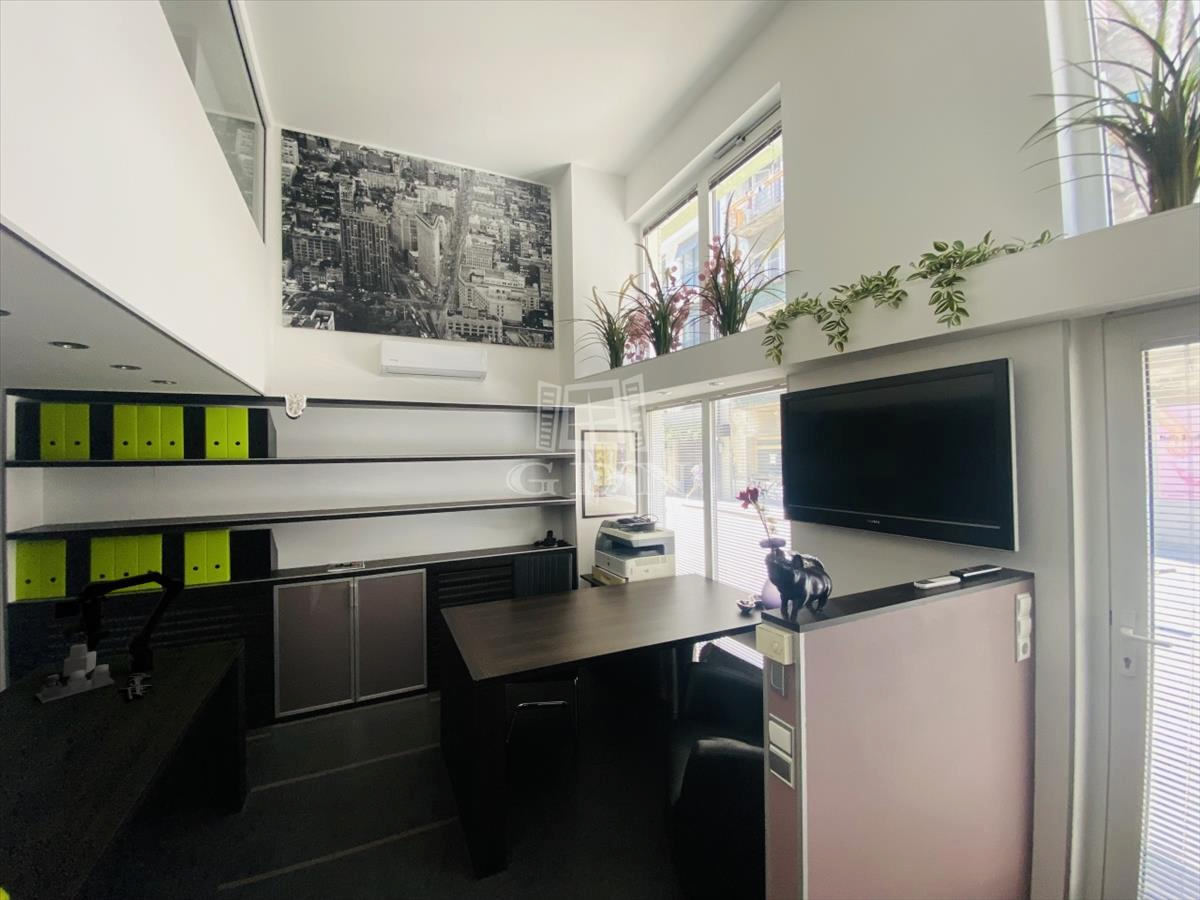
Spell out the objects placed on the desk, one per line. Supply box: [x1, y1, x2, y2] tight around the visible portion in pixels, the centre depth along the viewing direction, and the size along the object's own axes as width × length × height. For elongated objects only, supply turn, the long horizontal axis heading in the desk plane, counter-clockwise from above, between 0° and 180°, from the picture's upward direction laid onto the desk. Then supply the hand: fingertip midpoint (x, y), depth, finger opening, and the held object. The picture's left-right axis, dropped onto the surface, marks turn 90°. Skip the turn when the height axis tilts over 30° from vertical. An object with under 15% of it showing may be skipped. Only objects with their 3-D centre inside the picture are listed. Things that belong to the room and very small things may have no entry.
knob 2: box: [93, 663, 109, 675], centre depth 188 cm, size 4×4×6 cm
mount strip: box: [36, 670, 115, 704], centre depth 182 cm, size 19×9×4 cm, turn 149°
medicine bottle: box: [62, 641, 97, 678], centre depth 196 cm, size 7×7×12 cm
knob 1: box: [69, 670, 86, 681], centre depth 182 cm, size 4×4×6 cm
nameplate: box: [117, 672, 154, 703], centre depth 185 cm, size 27×2×10 cm
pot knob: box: [45, 673, 60, 687], centre depth 177 cm, size 3×3×4 cm
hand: (90, 651), depth 189 cm, fingers closed
